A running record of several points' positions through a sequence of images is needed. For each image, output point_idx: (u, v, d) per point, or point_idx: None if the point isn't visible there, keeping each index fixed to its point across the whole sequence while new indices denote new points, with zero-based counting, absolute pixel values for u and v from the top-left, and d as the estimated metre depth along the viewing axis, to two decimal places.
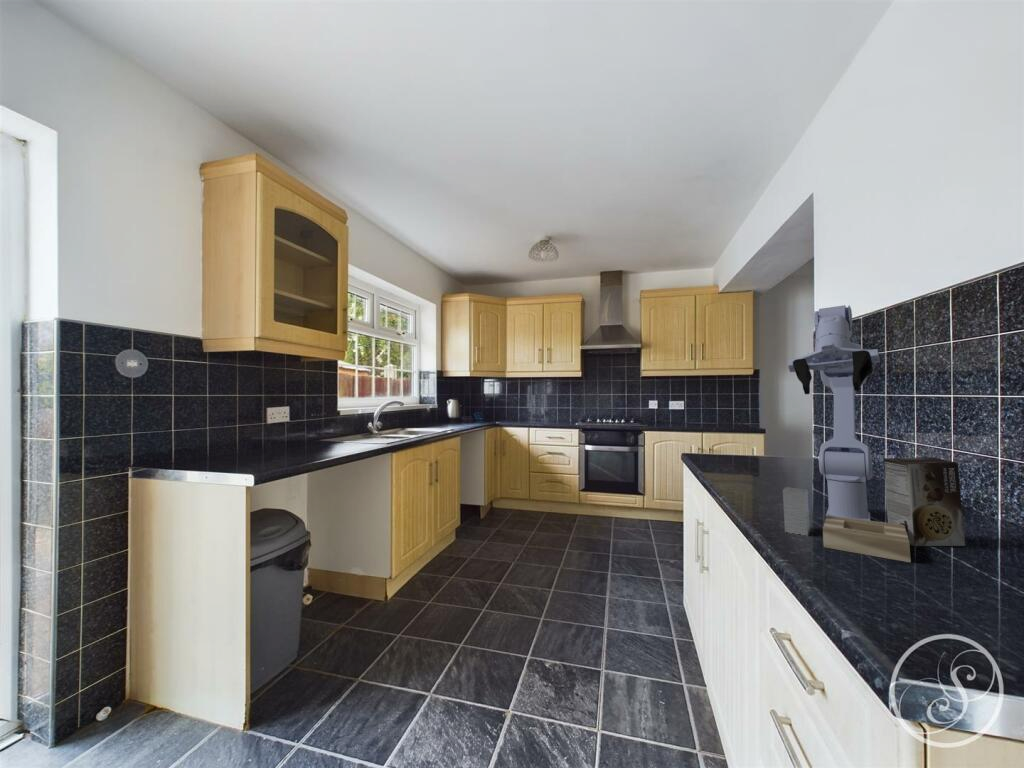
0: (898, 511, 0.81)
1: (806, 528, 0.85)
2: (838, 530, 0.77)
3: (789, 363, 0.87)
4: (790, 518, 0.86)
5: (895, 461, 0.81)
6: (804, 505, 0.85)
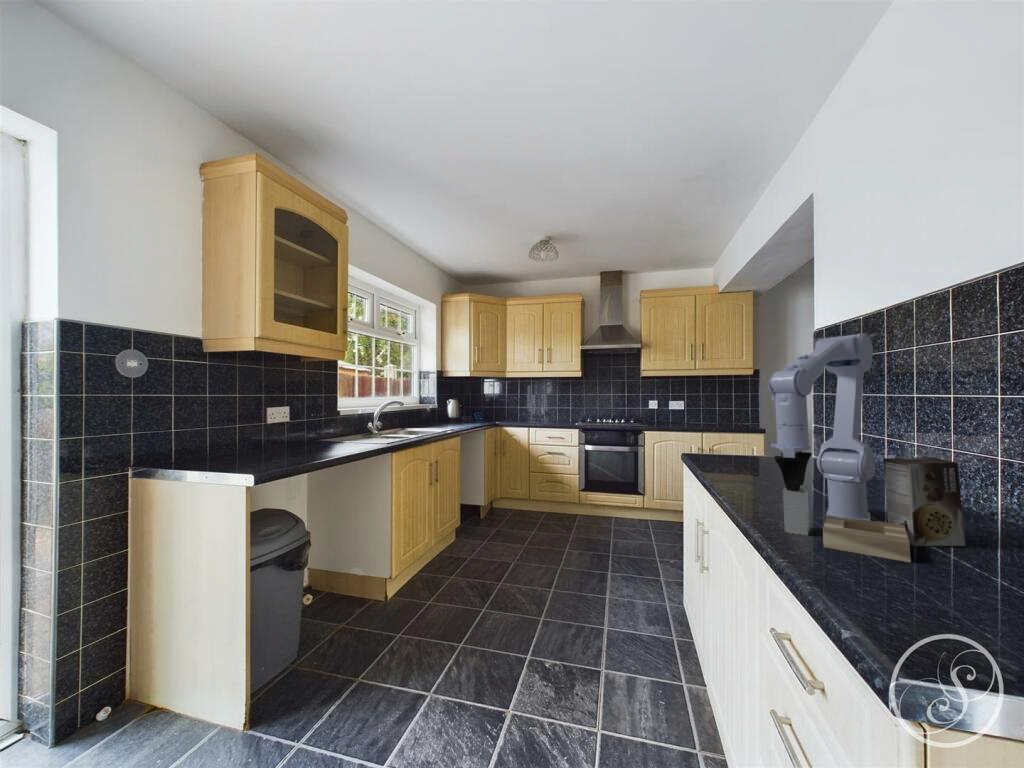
0: (898, 511, 0.81)
1: (806, 528, 0.85)
2: (838, 530, 0.77)
3: None
4: (790, 518, 0.86)
5: (895, 461, 0.81)
6: (804, 505, 0.85)
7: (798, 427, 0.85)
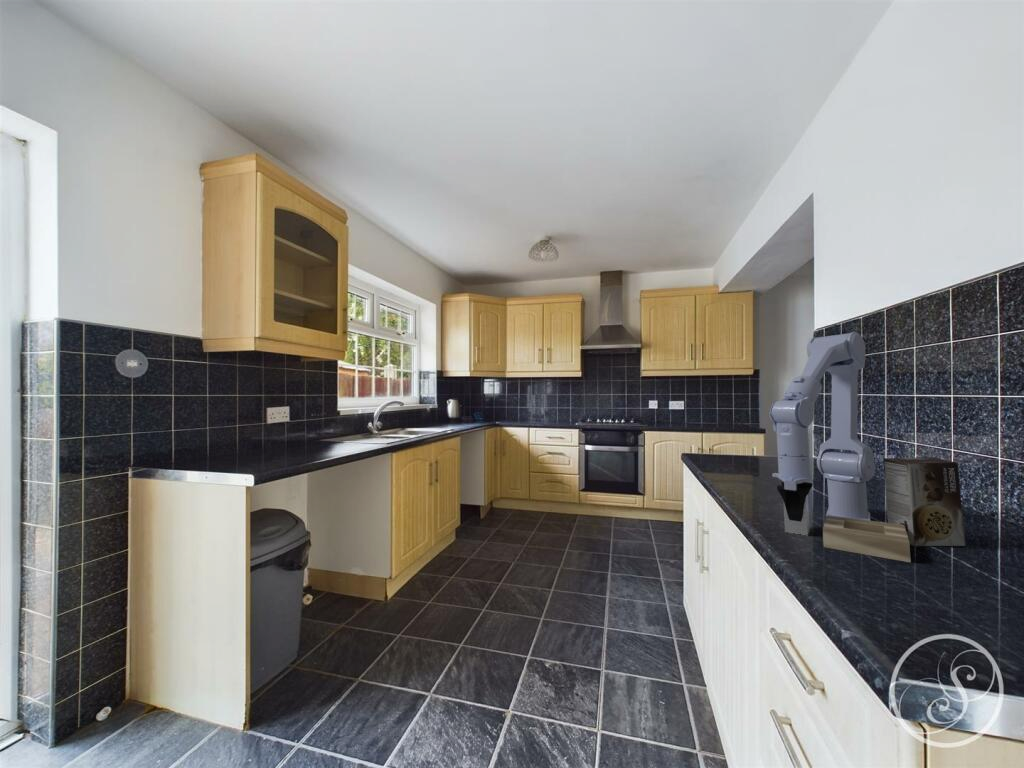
0: (898, 511, 0.81)
1: (806, 528, 0.85)
2: (838, 530, 0.77)
3: None
4: None
5: (895, 461, 0.81)
6: (804, 505, 0.85)
7: (799, 458, 0.85)
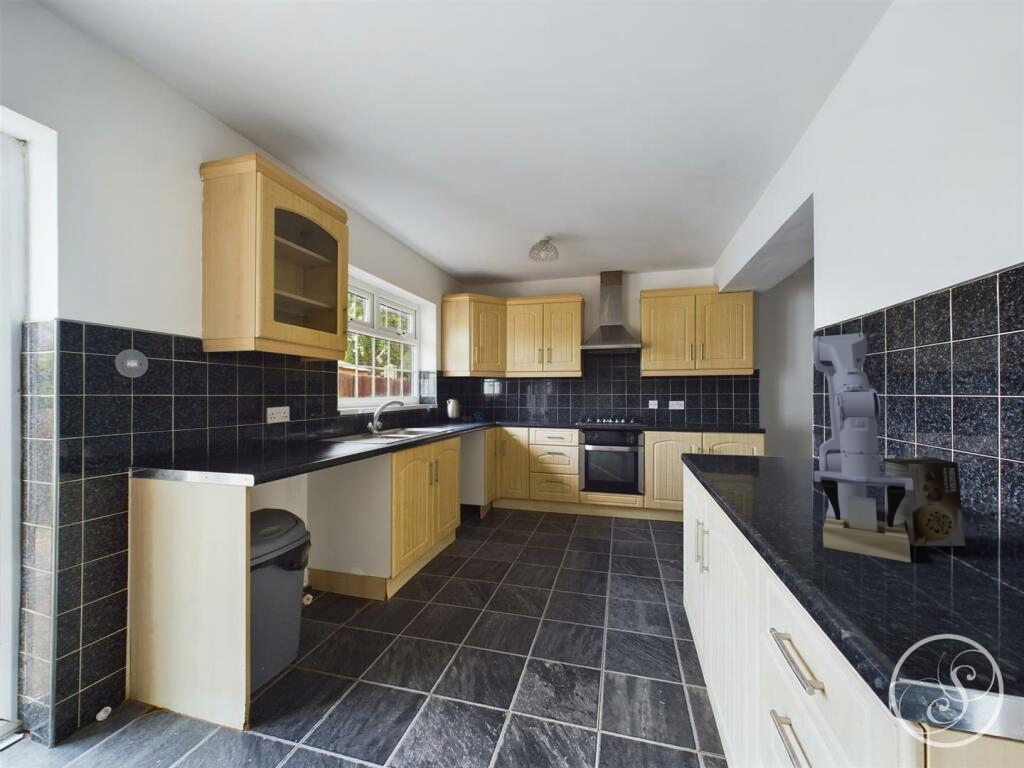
0: (898, 511, 0.81)
1: None
2: (838, 530, 0.77)
3: (816, 478, 0.83)
4: (877, 532, 0.76)
5: (895, 461, 0.81)
6: (876, 512, 0.78)
7: None
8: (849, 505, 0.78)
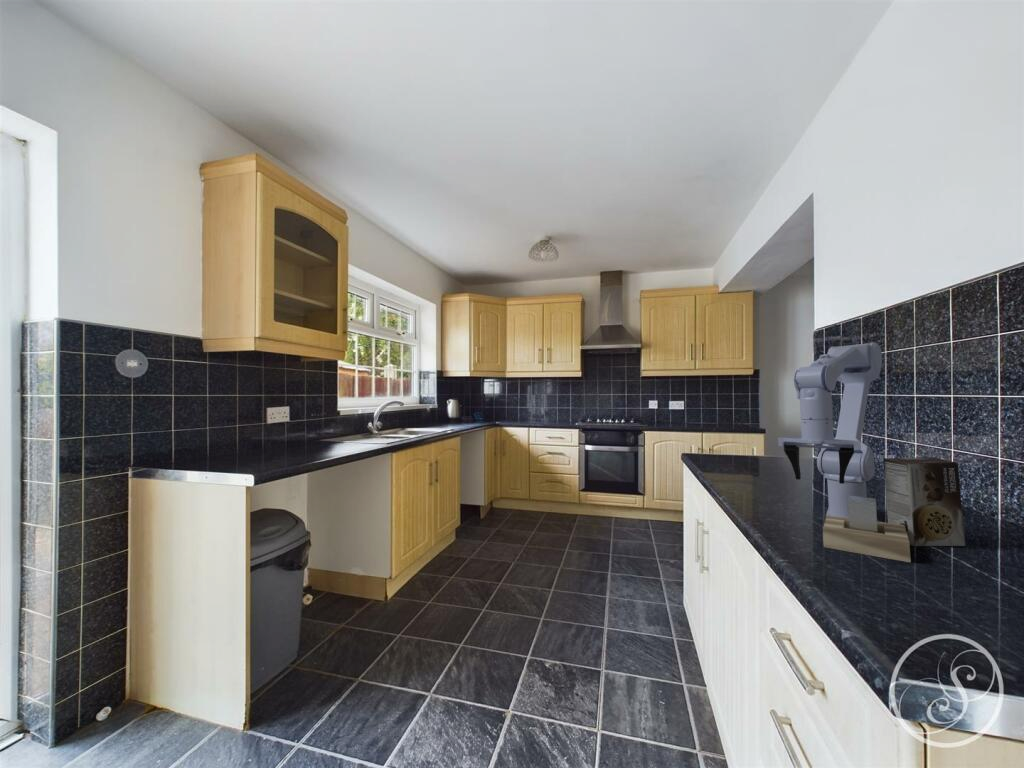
0: (898, 511, 0.81)
1: None
2: (838, 530, 0.77)
3: (779, 443, 0.94)
4: (877, 532, 0.76)
5: (895, 461, 0.81)
6: (876, 512, 0.78)
7: None
8: (849, 505, 0.78)
